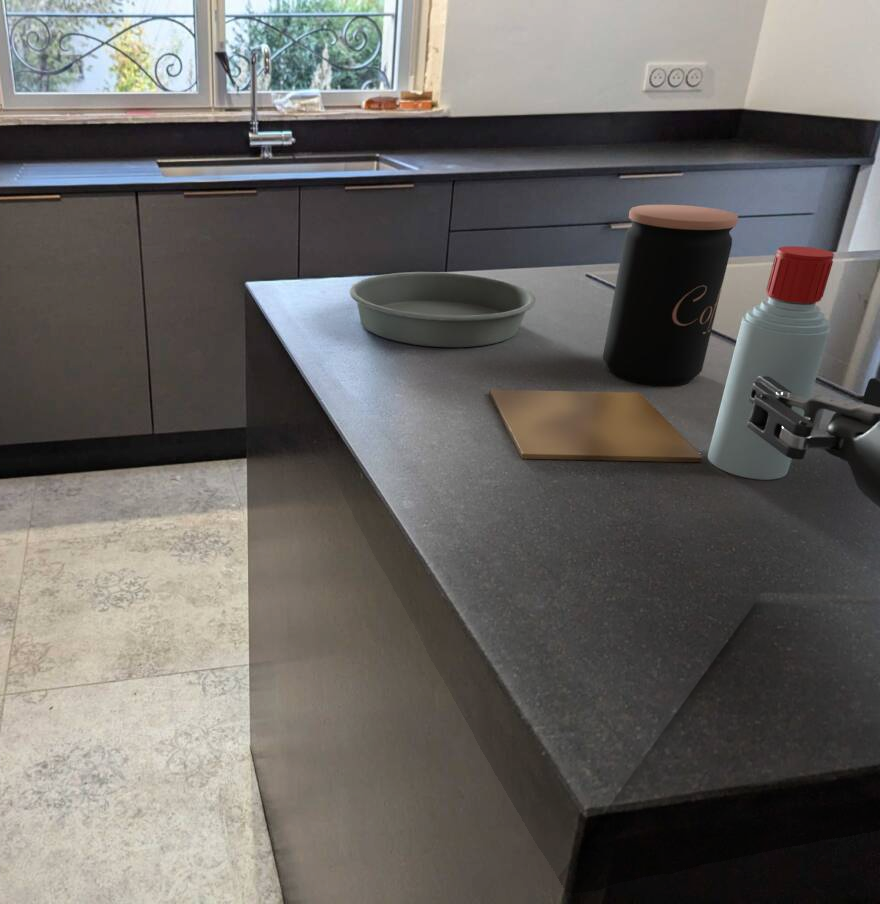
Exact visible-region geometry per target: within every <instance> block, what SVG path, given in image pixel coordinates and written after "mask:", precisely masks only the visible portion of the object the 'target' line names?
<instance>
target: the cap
mask: <svg viewBox="0 0 880 904" xmlns="http://www.w3.org/2000/svg"><path fill="white" fill-rule="evenodd" d="M834 257H835V253H834V252H832V251H829V250H827V249H824V248H823V249H822V248H817V247H809V246H798V245H797V246H795V245H794V246H793V245H787V246H780V247H778V248H777V251H776V254H775V256H774V259H773V263H772V266H771V270H770V275H769V278H768V282H767V284H766V285H767V286H766V290H765V291H766V292H765V294H766V295H767V296H768V297H772V298H775V299H778V300H783V301H788V302H797V303H814V302H816V303H819V302H821V301H822V298H823V297H824V294H825V290H826V288H827V283H828V280H829V277H830V273H831V270H832V267H833V264H834Z"/></svg>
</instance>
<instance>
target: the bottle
mask: <svg viewBox="0 0 880 904" xmlns="http://www.w3.org/2000/svg"><path fill="white" fill-rule="evenodd" d="M831 331H832V329H831V327H830V321H829V319H827V318H826V315H825V314H824V312H822V311H821V307H819V306H818V305H817V302H814V303H797V302H788V301H783V300H778V299H775V298H772V297H770V296H768V298H767V299H764V300H762V301H761V303H759V304H756V305H754V307H753V308H751V309H749V310H747V312H746V313H745V315H743V316H742V318H741V322H740V327H739V331H738V335H737V339H736V342H735V346H734V351H733V355H732V359H731V362H730V366H729V370H728V375H727V378H726V382H725V386H724V390H723V394H722V398H721V402H720V406H719V410H718V414H717V418H716V422H715V426H714V428H713V429H714V430H713V433H712V436H711V441H710V445H709V449H708V453H707V460H708V461H709V462H710V463H711V464H712V465H713V466H714V467H716V468H718V469H719V470H721V471H723V472H726V473H728V474H730V475H734V476H738V477H742V478H747V479H751V480H764V481H765V480H767V481H771V480H772V481H773V480H777V479H781V478H784V477H786V476H787V475H788V473H789V470H790V468H791V467H790V466H791V463H792V460H793V459H792V458H789V457H787V456H785V455H784V454H782V453H781V452H780V451H778V450H777V449H776V448H775V447H773V446H772V445H771V444H769V443H768V442H767V441H765V440H764V439H763V438H761V437H760V436H759V435H757V434H756V433H755V432H753V431H752V430H751V429H749V428H748V427H747V424H748V420H749V419H750V415H751V411H752V408H753V404H752V403H751V402H750V401H749V397H750V393H751V389H752V386H753V382H756V379H757V377H759V376H769V377H771V378H772V379H774V380H775V381H776V382H778V383H779V384H781V385H782V386H784V387H785V388H786V389H788V390H789V391H791V393H793V394H796V395H800V396H803V397H807V398H810V399H811V397H812V394H813V390H814V387H815V384H816V380H817V377H818V374H819V370H820V368H821V365H822V360H823V358H824V354H825V350H826V348H827V343H828V341H829V337H830V334H831ZM792 410H793V411H795V412H796V413H798V414H799V415H801V416H802V417H803V416H804V410H803V409H802V408H799V407H795V406H792Z"/></svg>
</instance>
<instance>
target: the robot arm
mask: <svg viewBox="0 0 880 904" xmlns="http://www.w3.org/2000/svg"><path fill="white" fill-rule="evenodd" d="M749 401H750V402H751V403H752V404H753V408H752V411H751V415H750V419H749V420H748V424H747V427H748V428H749V429H751V430H752V431H753V432H755V433H756V434H757V435H759V436H760V437H761V438H763V439H764V440H765V441H767V442H768V443H769V444H771V445H772V446H773V447H775V448H776V449H777V450H778V451H780V452H781V453H782V454H784V455H785V456H787V457H789V458H792V460H804V459H805V456H806V453H807V451H808V449H809V450H812V449H815V450H817V449H819V450H822V451H825V452H826V453H827V454H829V455H831V456H833V457H835V458H838V459H840V460H842V461H843V462H844V461H845V462H847V464H848V466H849V468H850V471H851V473H852V477H853V479H854V482H855V484H856V486H857V488H858V490H859V491H860V492H861V493H862V494H863V495H864V496H865V497H866V498H867V499H868V500H869V501H871V502H872V503H873V504H875V505H876V506H877V507H879V508H880V377H872V378H870V379H869V380H868V381H867V384H866V388H865V391H864V393H863V396H862V404H855V403H852V402H848V401H845V400H841V399H837V398H835V397H831V396H827V395H824V394H819V395H816V396H814V397H812V398H811V397H810V398H807V397H803V396H800V395H796V394H793V393H791V391H789V390H788V389H786V388H785V387H784V386H782V385H781V384H779V383H778V382H776V381H775V380H774V379H772V378H771V377H769V376H759V377H757V379H756V382H753V386H752V389H751V393H750V397H749ZM792 406H795V407H799V408H802V409H803V410H804V416H803V417H802V416H801V415H799V414H798V413H796V412H795V411H793V410H792ZM825 410H826V411H830V412H833V414H832V416H831V419H830V421H829V423H828V425H827V427H826V430H823V429H819V427H820V424H821V421H822V418H823V414H824V411H825Z"/></svg>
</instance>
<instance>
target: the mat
mask: <svg viewBox="0 0 880 904" xmlns="http://www.w3.org/2000/svg"><path fill="white" fill-rule="evenodd" d="M488 395H489V396H490V399H491V400H492V403H493V404H494V405H493V406H495V408H496V410H497V413H498V414H499V417H500V418H501V420H502V422H503V425H504V426H505V428H506V430H507V432H508V434H509V436H510V438H511V440H512V443H513V444H514V446H515V448H516V449H517V452H518V454H519V456H520V457H521V459H522V460H524V459H525V460H526V459H527V460H528V459H529V460H570V461H571V460H572V461H574V460H575V461H577V460H578V461H617V462H618V461H621V462H623V461H624V462H669V463H673V462H674V463H676V462H677V463H702V462H703V456H702V455H701V454H700V453H699V452H698V451H697V450H696V449H695V448H694V447H693V446H692V445H691V444H690V443H689V442H688V441H687V440H686V439H685V438H684V437H683V435H682V434H680V433H679V432H678V431H677V429H675V428H674V426H673V425H672V424H671V423H670V422H669V421H668V420H667V419H666V418H665V417H664V416H663V415H662V414H661V413H660V412H659V411H658V410H657V408H655V407H654V406H653V405H652V403H651V402H649V400H648V399H646V397H645V396H644V395H643V394H642V393H641V392H638V391H637V392H635V391H634V392H632V391H631V392H630V391H625V392H623V391H580V390H579V391H575V390H574V391H572V390H521V389H520V390H518V389H517V390H516V389H489V390H488Z"/></svg>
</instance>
